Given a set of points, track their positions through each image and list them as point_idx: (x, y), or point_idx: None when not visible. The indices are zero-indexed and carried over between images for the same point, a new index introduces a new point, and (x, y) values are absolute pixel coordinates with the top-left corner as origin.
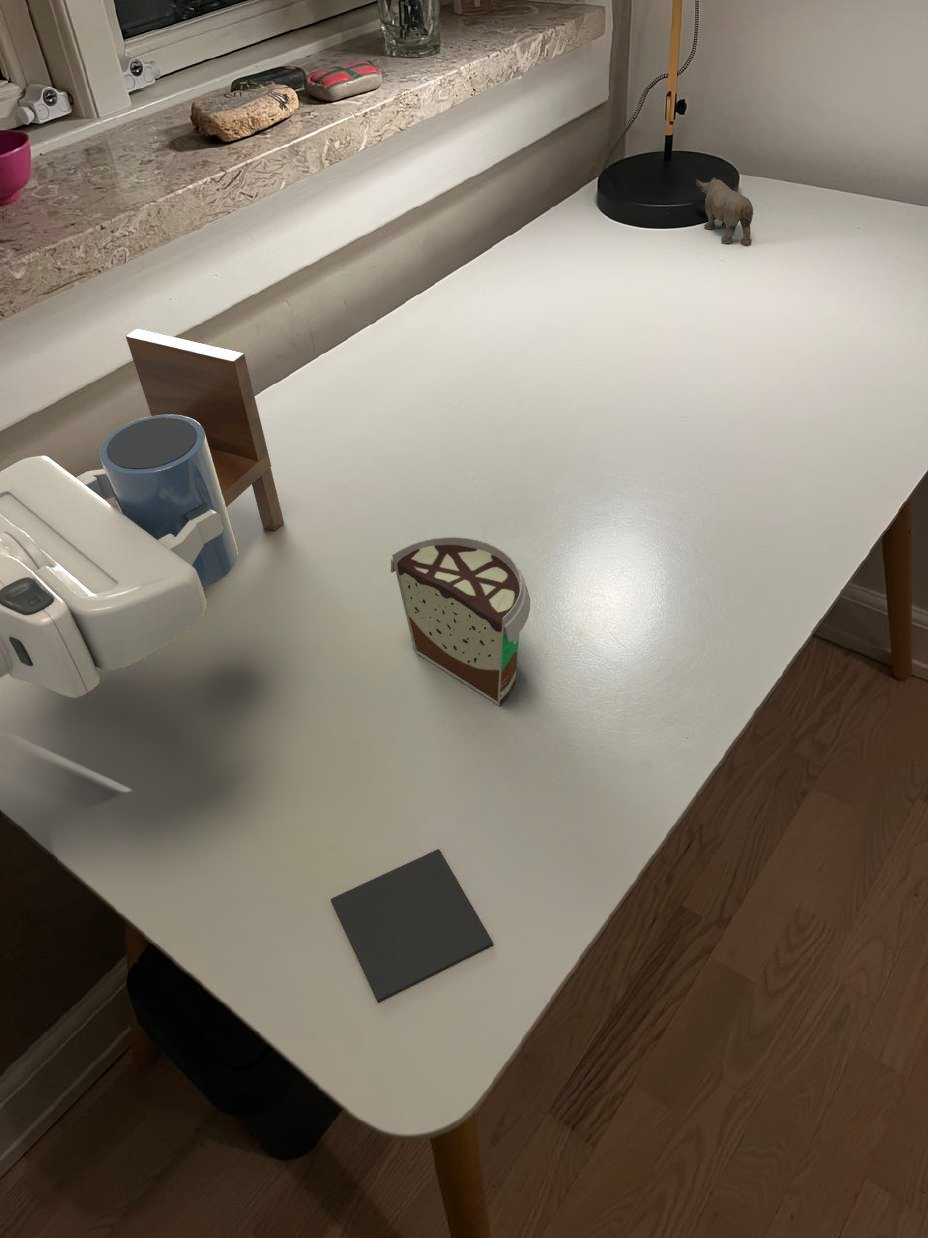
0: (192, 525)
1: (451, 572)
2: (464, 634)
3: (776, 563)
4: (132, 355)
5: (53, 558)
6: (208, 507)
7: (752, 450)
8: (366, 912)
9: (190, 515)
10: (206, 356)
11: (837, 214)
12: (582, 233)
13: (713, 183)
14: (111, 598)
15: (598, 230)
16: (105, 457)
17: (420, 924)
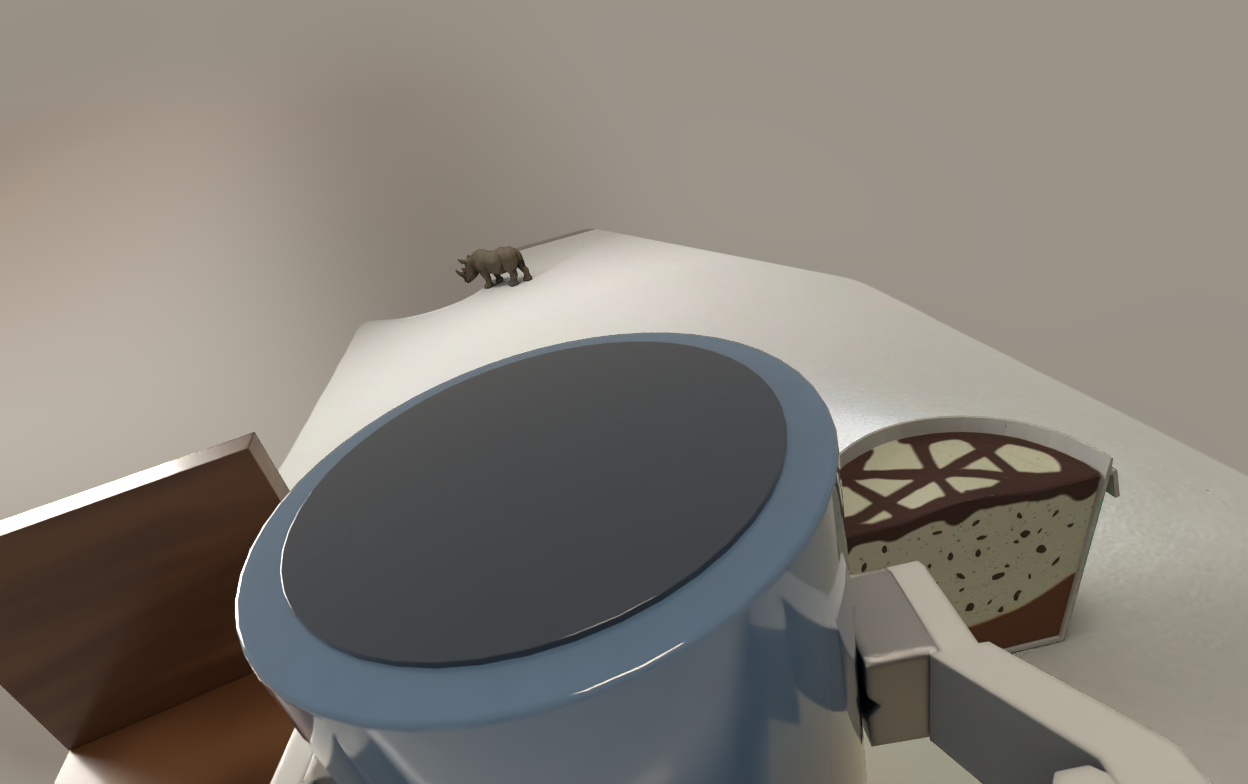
0: (992, 658)
1: (913, 488)
2: (998, 563)
3: (918, 358)
4: None
5: None
6: (857, 575)
7: (752, 331)
8: None
9: (893, 642)
10: (169, 479)
11: (559, 249)
12: (396, 331)
13: (475, 253)
14: None
15: (407, 324)
16: (395, 684)
17: None
